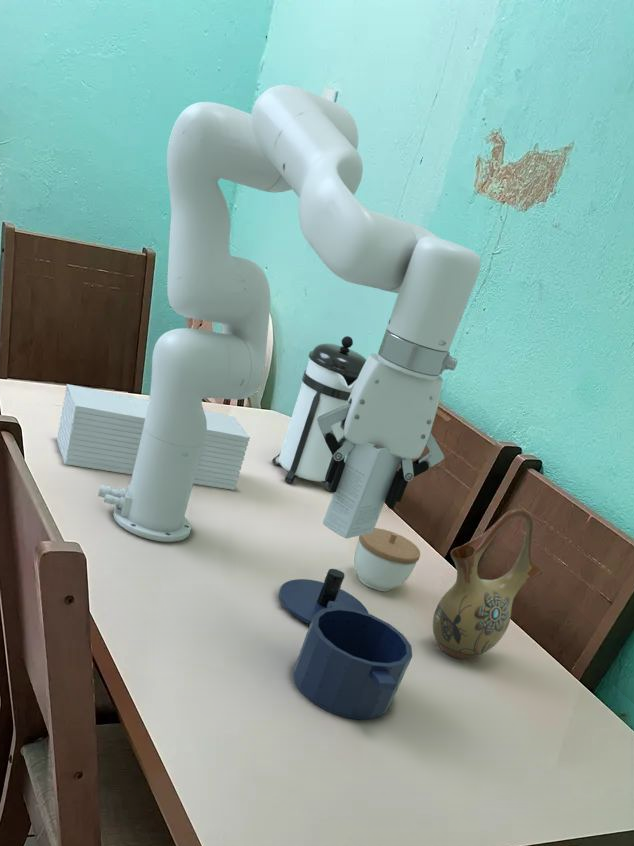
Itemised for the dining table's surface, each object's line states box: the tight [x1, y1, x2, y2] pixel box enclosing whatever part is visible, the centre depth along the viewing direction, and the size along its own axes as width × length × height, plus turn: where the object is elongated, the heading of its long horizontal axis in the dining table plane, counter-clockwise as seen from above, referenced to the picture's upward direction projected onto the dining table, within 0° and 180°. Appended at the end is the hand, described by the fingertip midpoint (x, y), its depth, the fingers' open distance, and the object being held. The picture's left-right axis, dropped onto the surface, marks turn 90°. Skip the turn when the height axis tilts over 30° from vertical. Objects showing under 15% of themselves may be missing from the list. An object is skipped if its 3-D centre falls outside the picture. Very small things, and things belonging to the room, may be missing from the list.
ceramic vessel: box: [432, 508, 545, 660], centre depth 130 cm, size 16×9×25 cm, turn 107°
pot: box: [292, 601, 413, 720], centre depth 115 cm, size 14×19×8 cm
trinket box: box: [353, 527, 421, 592], centre depth 147 cm, size 11×11×9 cm
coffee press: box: [272, 335, 367, 492], centre depth 178 cm, size 17×16×30 cm
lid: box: [278, 568, 370, 625], centre depth 133 cm, size 15×15×7 cm
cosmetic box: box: [322, 442, 401, 539], centre depth 107 cm, size 6×4×12 cm
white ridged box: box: [56, 383, 251, 491], centre depth 160 cm, size 32×11×11 cm, turn 110°
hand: (360, 495), depth 108 cm, fingers closed on cosmetic box, 7 cm apart
